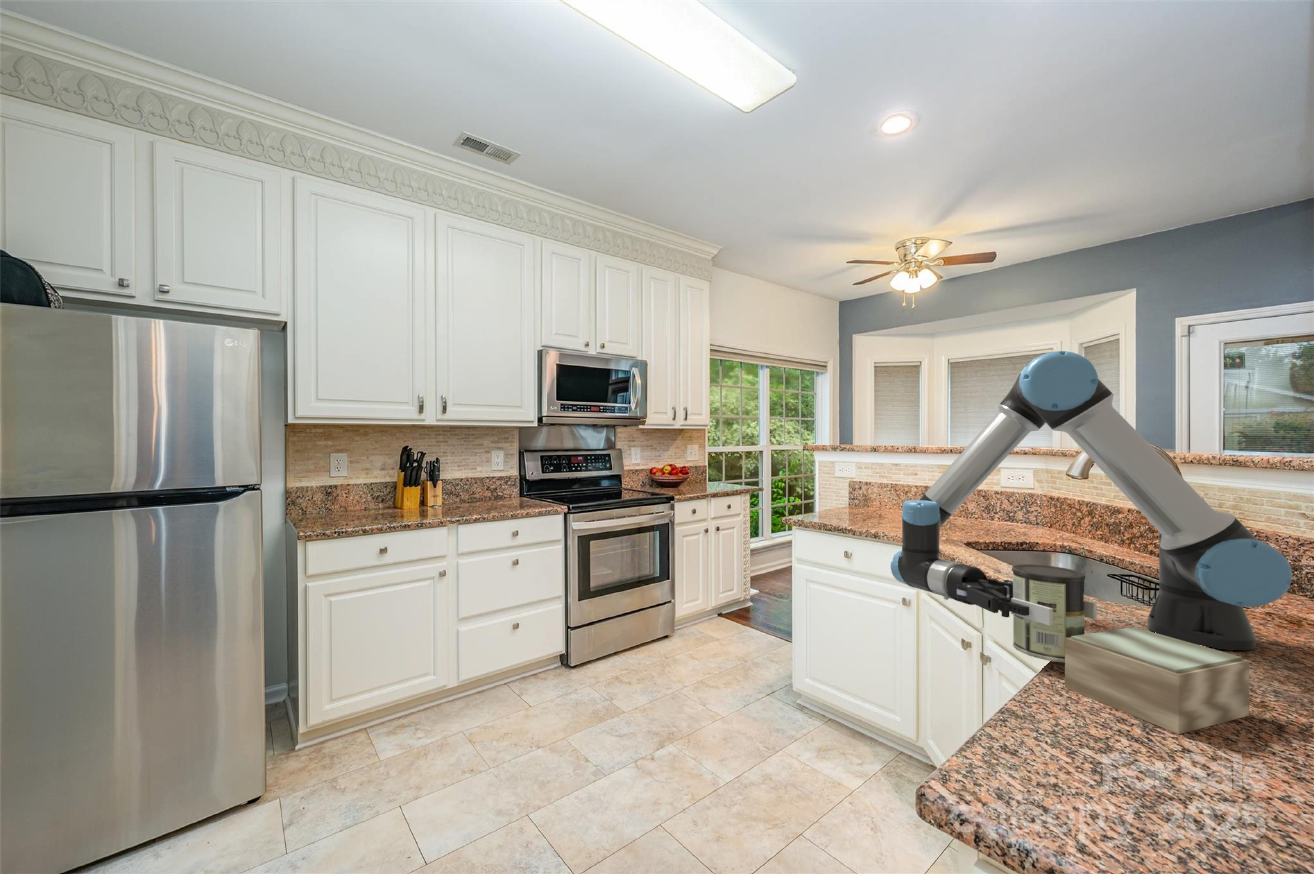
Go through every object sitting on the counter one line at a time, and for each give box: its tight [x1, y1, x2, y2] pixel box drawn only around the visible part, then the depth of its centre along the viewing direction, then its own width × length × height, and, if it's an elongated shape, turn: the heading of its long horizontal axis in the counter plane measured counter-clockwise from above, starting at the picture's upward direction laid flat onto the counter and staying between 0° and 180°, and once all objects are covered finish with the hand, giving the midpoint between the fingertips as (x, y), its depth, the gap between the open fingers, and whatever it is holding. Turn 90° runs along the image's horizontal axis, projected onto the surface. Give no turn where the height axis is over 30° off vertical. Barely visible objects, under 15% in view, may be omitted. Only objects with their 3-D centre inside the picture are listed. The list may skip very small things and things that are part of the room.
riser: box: [1064, 626, 1250, 735], centre depth 79 cm, size 16×14×8 cm
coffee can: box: [1011, 563, 1086, 664], centre depth 93 cm, size 10×10×14 cm
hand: (1073, 614), depth 89 cm, fingers closed on coffee can, 10 cm apart
